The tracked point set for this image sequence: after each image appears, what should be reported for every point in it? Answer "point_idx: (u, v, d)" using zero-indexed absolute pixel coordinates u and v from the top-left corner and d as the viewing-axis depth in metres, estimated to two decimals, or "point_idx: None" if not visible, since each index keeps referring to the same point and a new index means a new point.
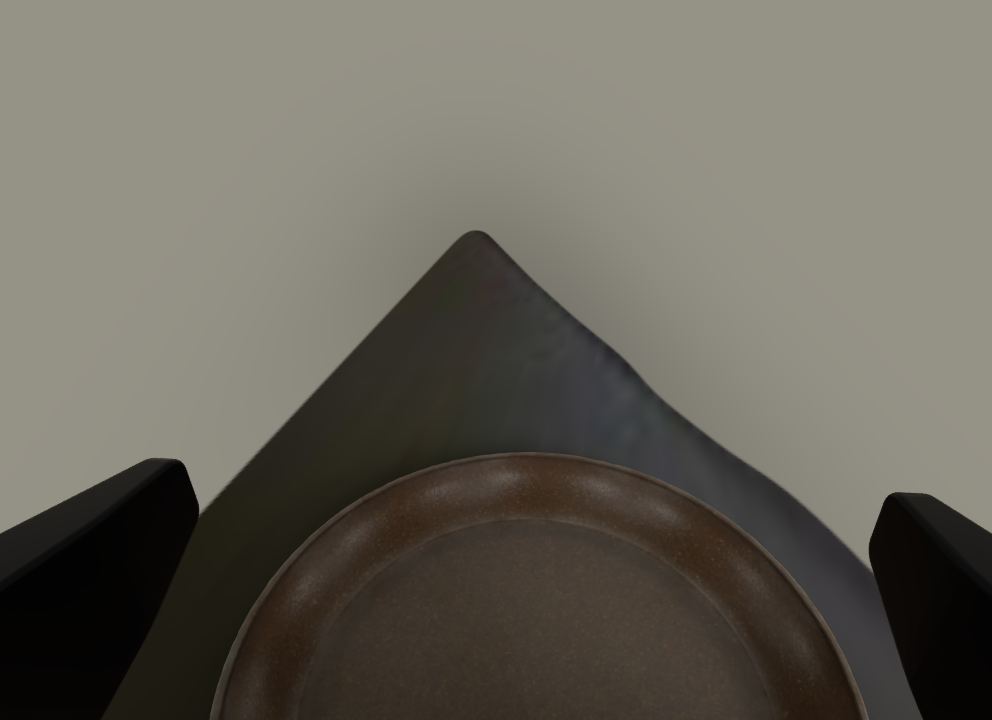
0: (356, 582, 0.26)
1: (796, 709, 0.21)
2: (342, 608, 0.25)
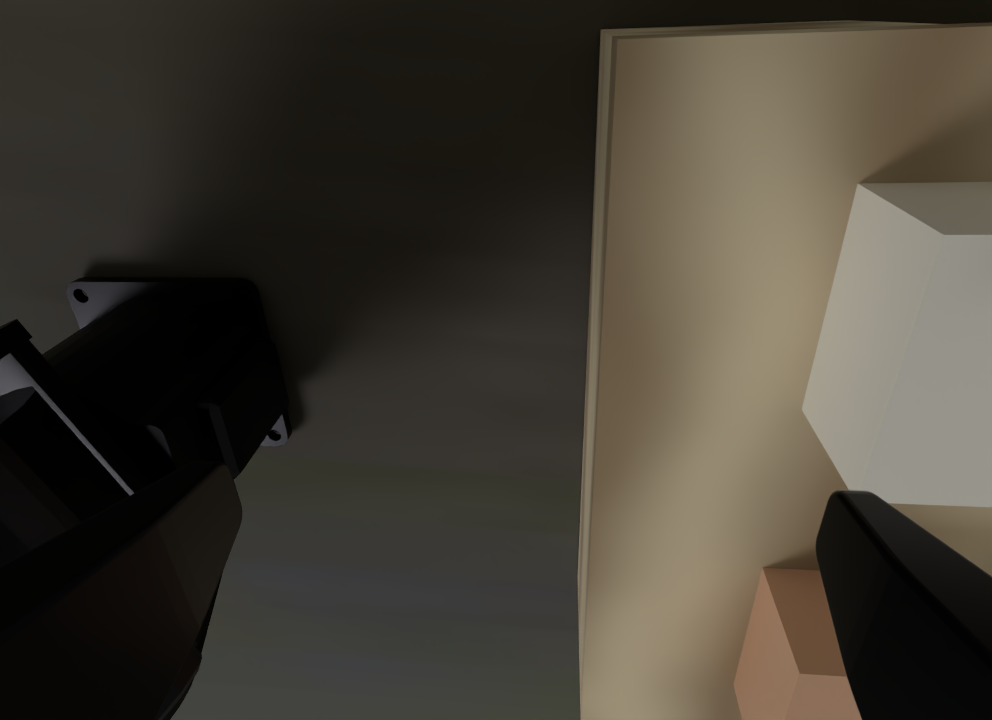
0: None
1: None
2: None
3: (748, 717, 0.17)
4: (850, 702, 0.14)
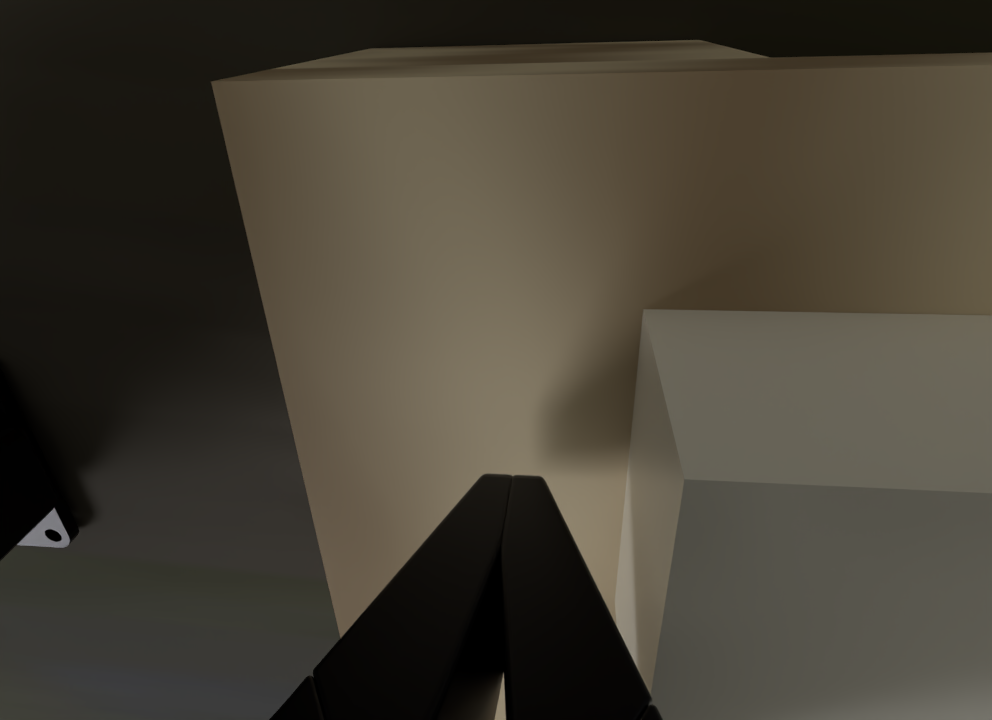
0: None
1: None
2: None
3: None
4: None
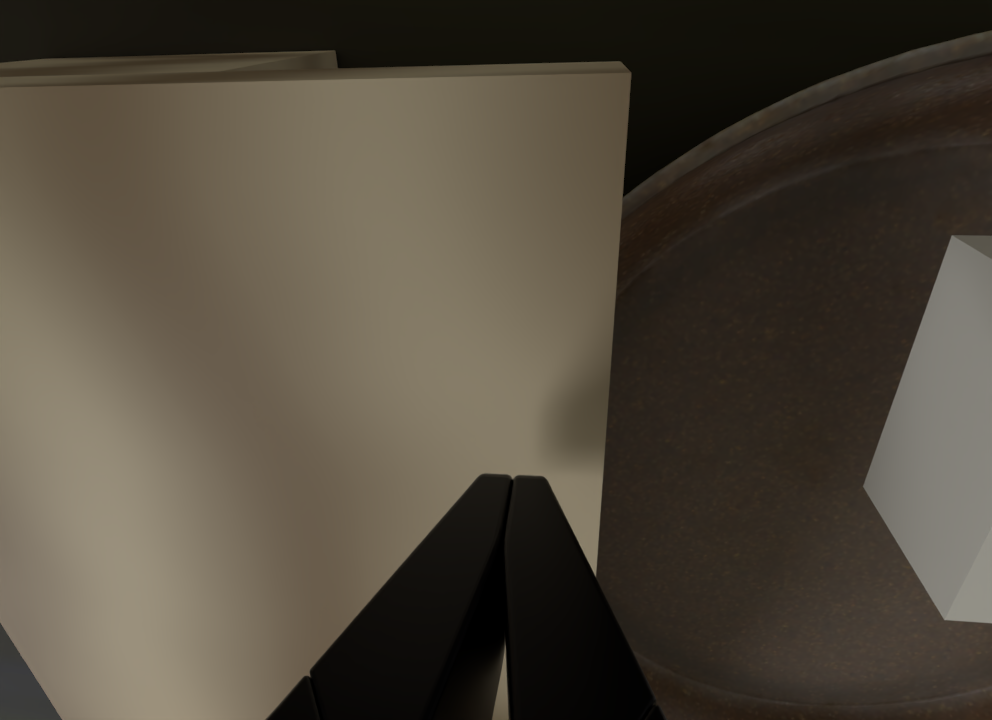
0: None
1: None
2: None
3: None
4: None
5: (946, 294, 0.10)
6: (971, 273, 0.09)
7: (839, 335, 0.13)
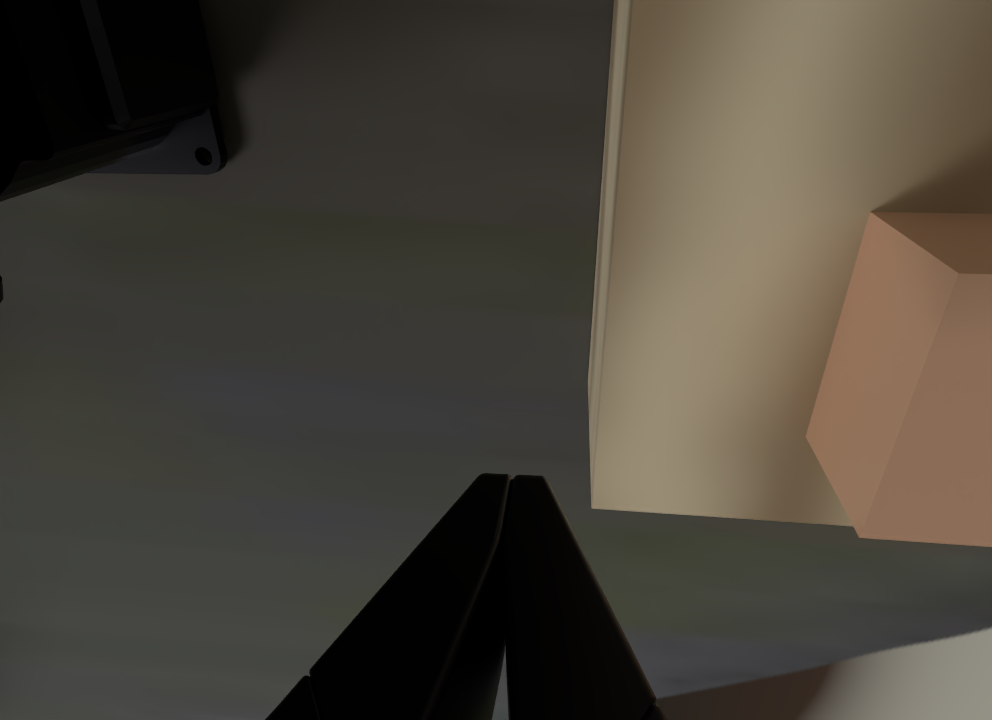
0: None
1: None
2: None
3: (835, 452, 0.12)
4: None
5: None
6: None
7: None
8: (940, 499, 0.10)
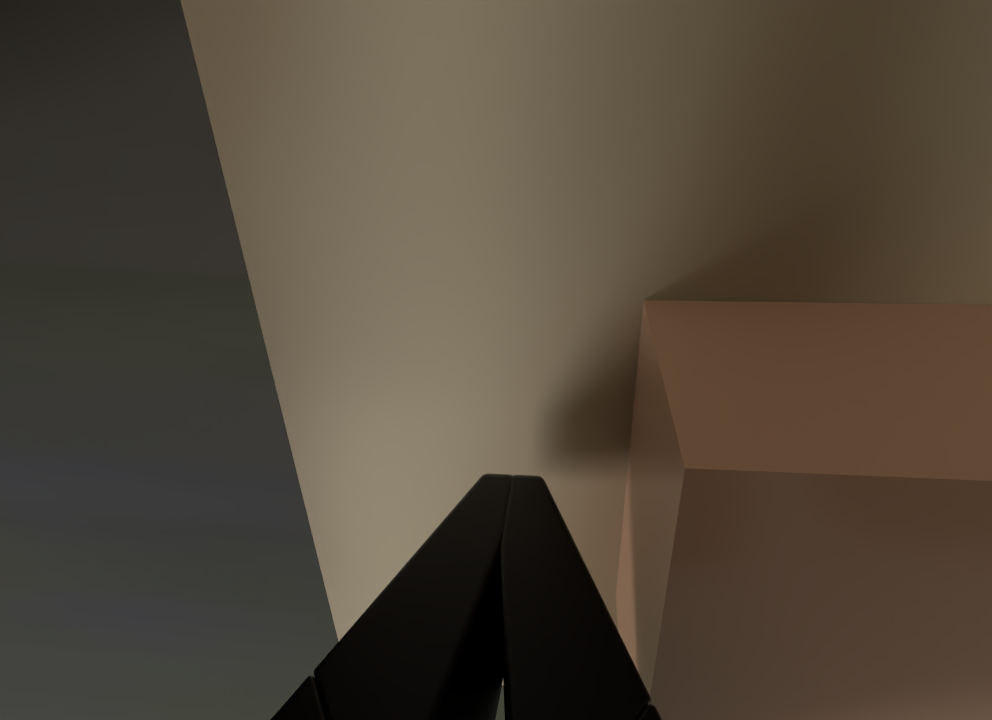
0: None
1: None
2: None
3: None
4: (839, 564, 0.05)
5: None
6: None
7: None
8: None
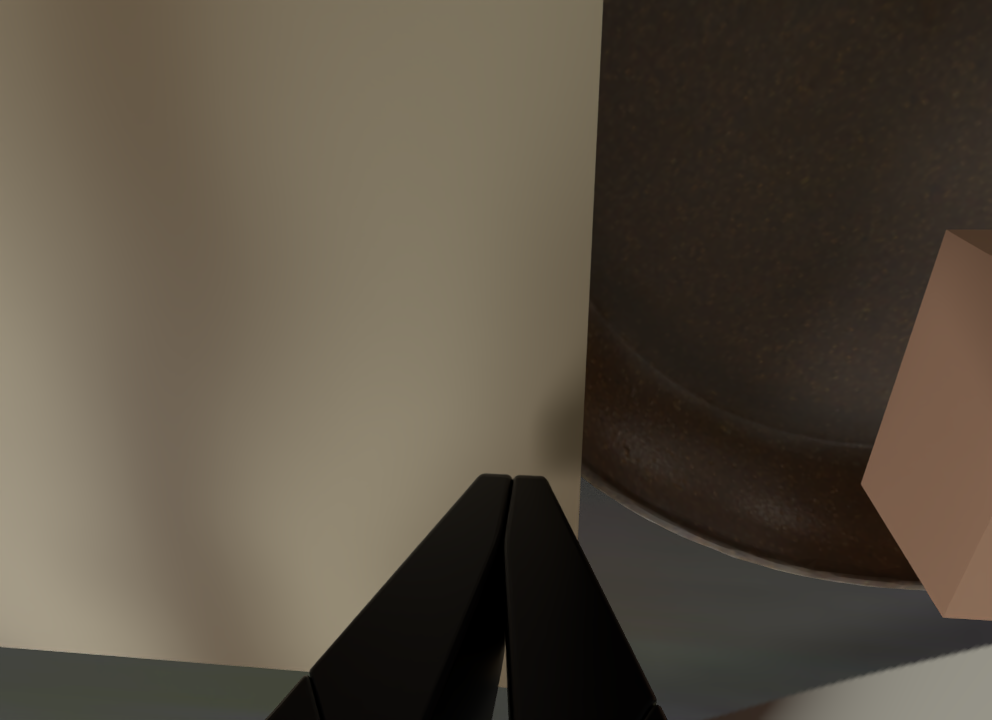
0: None
1: None
2: None
3: None
4: None
5: None
6: None
7: None
8: None
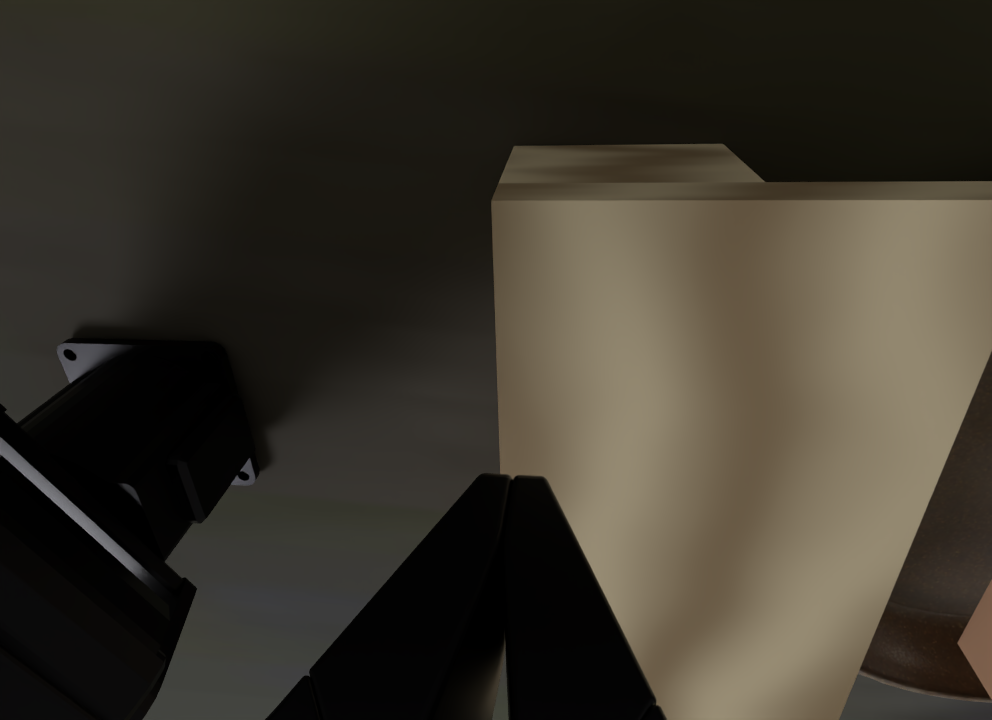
0: None
1: None
2: None
3: None
4: None
5: None
6: None
7: None
8: None
